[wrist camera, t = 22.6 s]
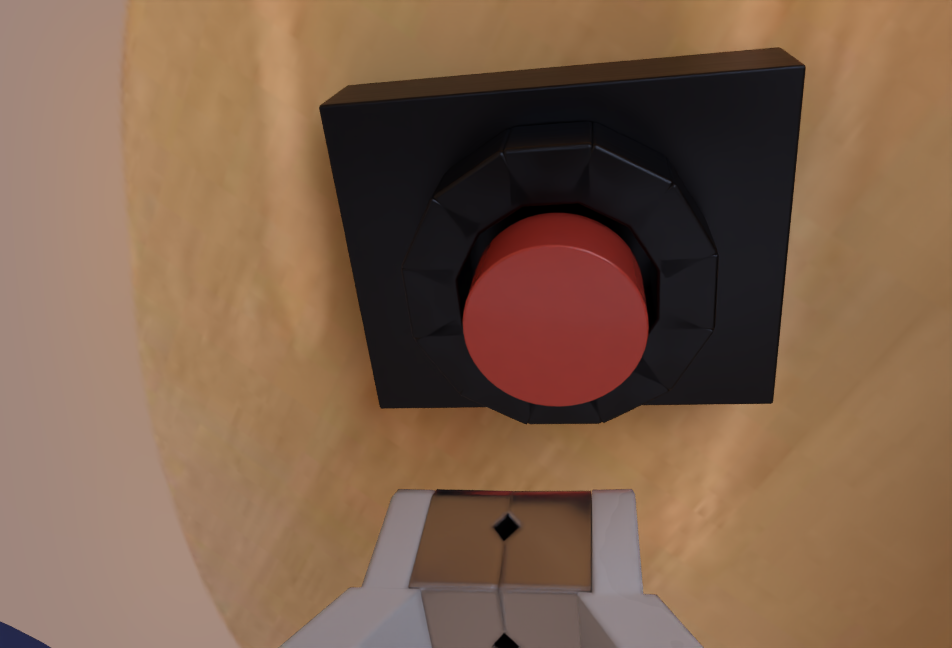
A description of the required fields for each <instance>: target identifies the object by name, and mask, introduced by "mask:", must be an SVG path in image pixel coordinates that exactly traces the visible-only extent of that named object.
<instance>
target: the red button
mask: <svg viewBox="0 0 952 648" xmlns="http://www.w3.org/2000/svg"><path fill="white" fill-rule="evenodd" d="M648 331H649V323H648V313H647V306H646V299H645V292H644V285H643V279H642V274H641V270H640V267H639V264H638V262H637V259H636V257H635V256H634V254H633V252H632V250H631V249H630V248H629V246H628V245H627V244H626V243H625V241H624V240H623V239H622V238H621V237H620V236H619V235H617V234H616V233H615V232H614V231H612V230H611V229H610V228H608V227H607V226H605V225H603V224H601V223H600V222H598V221H595V220H593V219H590V218H588V217H584V216H581V215H577V214H570V213H545V214H538V215H534V216H530V217H527V218H525V219H522V220H520V221H518V222H516V223H514V224H512V225H510V226H509V227H507V228H506V229H504V230H503V231H502V232H500V233H499V234H498V235H497V236H496V237H495V238H494V239H493V240H492V241H491V242H490V244H489V245H488V246H487V248H486V249H485V251H484V252H483V254H482V256H481V258H480V260H479V263H478V265H477V268H476V271H475V274H474V277H473V281H472V284H471V287H470V290H469V293H468V297H467V300H466V303H465V307H464V312H463V334H464V339H465V343H466V346H467V349H468V352H469V354H470V356H471V358H472V360H473V361H474V363H475V364H476V366H477V367H478V369H479V370H480V372H481V373H482V374H483V375H484V376H485V377H486V378H487V379H488V380H489V381H490V382H491V383H493V384H494V385H495V386H496V387H498V388H499V389H501V390H502V391H504V392H505V393H507V394H509V395H511V396H513V397H515V398H518V399H520V400H523V401H526V402H529V403H533V404H537V405H544V406H572V405H577V404H582V403H586V402H589V401H592V400H595V399H597V398H600V397H602V396H604V395H606V394H607V393H609V392H611V391H613V390H614V389H615V388H617V387H618V386H619V385H621V384H622V383H623V382H624V381H625V380H626V379H627V378H628V377H629V376H630V375H631V373H632V372H633V371H634V369H635V368H636V367H637V365H638V363H639V362H640V360H641V358H642V356H643V353H644V351H645V348H646V344H647V340H648Z"/></svg>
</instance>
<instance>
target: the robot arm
mask: <svg viewBox="0 0 952 648" xmlns="http://www.w3.org/2000/svg"><path fill="white" fill-rule="evenodd" d="M278 648H704V647H703V646H702V645H701V644H700V643H699V642H698V641H697V640H696V638H695V637H694V636H693V635H692V634H691V633H690V632H689V631H688V629H687V628H686V627H685V626H684V625H683V624H682V623H681V622H680V620H679V619H678V618H677V617H676V616H675V615H674V614H673V613H672V611H671V610H670V609H669V608H668V607H667V606H666V605H665V604H664V603H663V601H662V600H661V599H660V598H659V597H658V596H657V595H655V594H643V584H642V572H641V560H640V548H639V535H638V523H637V511H636V499H635V494H634V492H633V490H632V489H616V490H592V495H591V491H483V490H441V489H437V490H436V491H435V490H410V489H398V490H397V492H396V493H395V494H394V495H393V496H392V498H391V501H390V504H389V507H388V510H387V513H386V515H385V518H384V521H383V524H382V527H381V530H380V533H379V536H378V539H377V542H376V545H375V548H374V551H373V554H372V557H371V560H370V563H369V566H368V569H367V572H366V575H365V578H364V581H363V584H362V587H350V588H348V589H347V590H346V591H345V592H344V593H342V594H341V595H340V596H339V597H338V598H336V599H335V600H334V601H333V602H332V603H331V604H329V605H328V606H327V607H326V608H325V609H323V610H322V611H321V612H320V613H319V614H317V615H316V616H315V617H314V618H313V619H312V620H310V621H309V622H308V623H307V624H306V625H304V626H303V627H302V628H301V629H300V630H299V631H297V632H296V633H295V634H294V635H293V636H291V637H290V638H289V639H288V640H287V641H285V642H284V643H283V644H282V645H281V646H280V647H278Z"/></svg>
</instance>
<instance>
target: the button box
mask: <svg viewBox="0 0 952 648" xmlns="http://www.w3.org/2000/svg"><path fill="white" fill-rule="evenodd" d="M805 68H806V67H805V65H804V64H803V63H801V62H800V61H798V60H797V59H795V58H794V57H793V56H791V55H790V54H788V53H787V52H786V51H784V50H783V49H781V48H768V49H756V50H745V51H734V52H722V53H711V54H699V55H688V56H677V57H665V58H654V59H643V60H631V61H620V62H609V63H597V64H586V65H574V66H563V67H552V68H540V69H529V70H518V71H506V72H495V73H484V74H472V75H461V76H449V77H438V78H427V79H415V80H404V81H393V82H381V83H370V84H359V85H348V86H346V87H345V88H344V89H342V90H341V91H339V92H338V93H337V94H335V95H334V96H332V97H331V98H330V99H328V100H327V101H326V102H324V103H323V104H321V105H320V107H319V109H320V114H321V119H322V124H323V129H324V134H325V139H326V144H327V149H328V154H329V159H330V163H331V168H332V173H333V178H334V183H335V188H336V193H337V198H338V203H339V208H340V213H341V218H342V223H343V228H344V232H345V237H346V242H347V247H348V252H349V257H350V262H351V267H352V272H353V277H354V282H355V287H356V292H357V297H358V301H359V306H360V311H361V316H362V321H363V326H364V331H365V336H366V341H367V346H368V351H369V356H370V361H371V366H372V370H373V375H374V380H375V385H376V390H377V395H378V400H379V405H380V408H459V407H488V408H490V409H492V410H495V411H497V412H499V413H501V414H504V415H506V416H508V417H510V418H513V419H515V420H517V421H519V422H522V423H524V424H527V423H528V424H599V423H601V422H603V423H605V422H607V421H609V420H611V419H613V418H616V417H618V416H620V415H622V414H624V413H626V412H628V411H630V410H632V409H634V408H636V407H639V406H641V405H697V404H771V403H773V398H774V388H775V377H776V367H777V357H778V346H779V336H780V326H781V316H782V305H783V295H784V285H785V274H786V264H787V254H788V243H789V233H790V223H791V213H792V202H793V192H794V182H795V171H796V161H797V151H798V140H799V130H800V120H801V110H802V99H803V89H804V79H805ZM545 213H570V214H577V215H581V216H584V217H588V218H590V219H593V220H595V221H598V222H600V223H601V224H603V225H605V226H607V227H608V228H610V229H611V230H612V231H614V232H615V233H616V234H617V235H619V236H620V237H621V238H622V239H623V240H624V241H625V243H626V244H627V245H628V246H629V248H630V249H631V250H632V252H633V254H634V256H635V257H636V259H637V262H638V264H639V267H640V270H641V274H642V279H643V285H644V292H645V299H646V306H647V313H648V323H649V331H648V340H647V344H646V348H645V351H644V353H643V356H642V358H641V360H640V362H639V363H638V365H637V367H636V368H635V369H634V371H633V372H632V373H631V375H630V376H629V377H628V378H627V379H626V380H625V381H624V382H623V383H622V384H621V385H619V386H618V387H617V388H615V389H614V390H613V391H611V392H609V393H607V394H606V395H604V396H602V397H600V398H597V399H595V400H592V401H589V402H586V403H582V404H577V405H572V406H544V405H537V404H533V403H529V402H526V401H523V400H520V399H518V398H515V397H513V396H511V395H509V394H507V393H505V392H504V391H502V390H501V389H499V388H498V387H496V386H495V385H494V384H493V383H491V382H490V381H489V380H488V379H487V378H486V377H485V376H484V375H483V374H482V373H481V372H480V370H479V369H478V367H477V366H476V364H475V363H474V361H473V360H472V358H471V356H470V354H469V352H468V349H467V346H466V343H465V339H464V334H463V312H464V307H465V303H466V300H467V297H468V293H469V290H470V287H471V284H472V281H473V277H474V274H475V271H476V268H477V265H478V263H479V260H480V258H481V256H482V254H483V252H484V251H485V249H486V248H487V246H488V245H489V244H490V242H491V241H492V240H493V239H494V238H495V237H496V236H497V235H498V234H499V233H500V232H502V231H503V230H504V229H506V228H507V227H509V226H510V225H512V224H514V223H516V222H518V221H520V220H522V219H525V218H527V217H530V216H534V215H538V214H545Z"/></svg>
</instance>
